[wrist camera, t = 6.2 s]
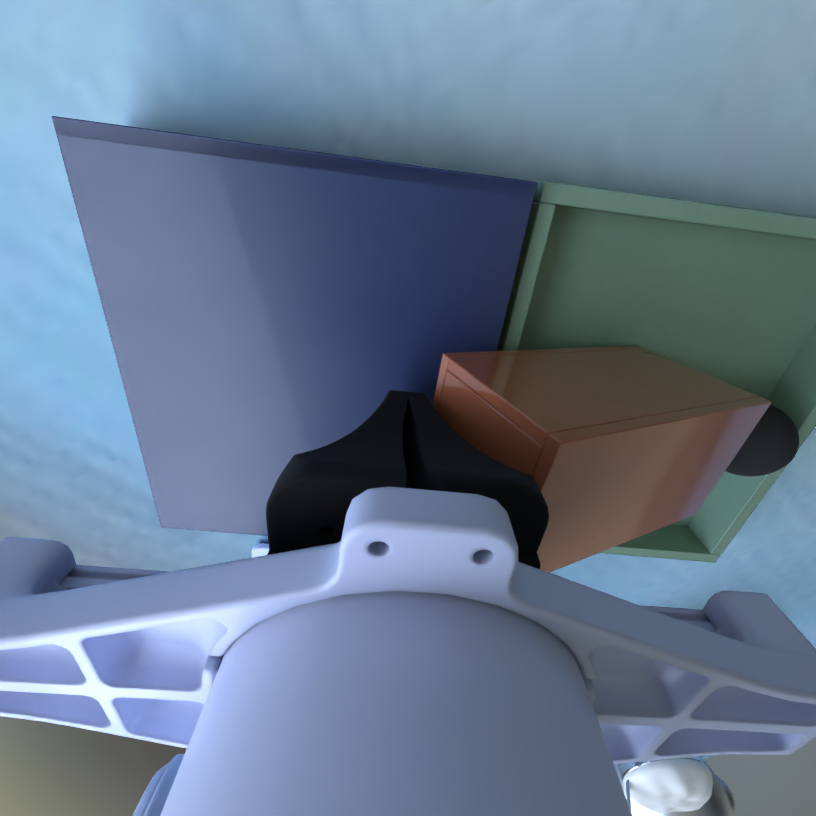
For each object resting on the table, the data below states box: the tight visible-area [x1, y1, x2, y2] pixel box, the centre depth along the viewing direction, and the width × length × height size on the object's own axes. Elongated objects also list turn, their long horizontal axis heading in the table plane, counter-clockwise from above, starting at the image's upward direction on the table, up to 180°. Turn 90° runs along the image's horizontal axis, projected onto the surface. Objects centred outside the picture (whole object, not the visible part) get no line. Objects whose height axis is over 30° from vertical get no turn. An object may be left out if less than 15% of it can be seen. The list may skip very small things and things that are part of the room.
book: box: [52, 116, 537, 536], centre depth 16 cm, size 16×14×3 cm
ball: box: [725, 405, 799, 476], centre depth 17 cm, size 3×3×3 cm
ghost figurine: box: [614, 759, 736, 816], centre depth 31 cm, size 9×10×10 cm
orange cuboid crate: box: [433, 345, 771, 573], centre depth 14 cm, size 10×5×5 cm, turn 81°
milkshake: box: [618, 756, 713, 814], centre depth 24 cm, size 5×5×10 cm
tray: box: [497, 181, 816, 562], centre depth 18 cm, size 16×14×2 cm
